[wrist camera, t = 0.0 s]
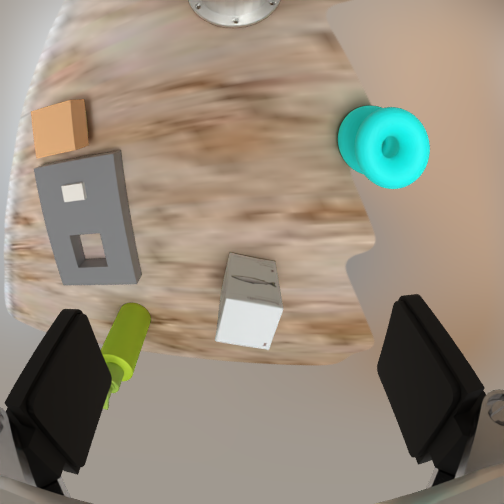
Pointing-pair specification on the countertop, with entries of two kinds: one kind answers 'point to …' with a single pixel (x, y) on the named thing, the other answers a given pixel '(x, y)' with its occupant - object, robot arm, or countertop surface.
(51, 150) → the plug
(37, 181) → the socket
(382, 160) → the donuts
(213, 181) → the countertop surface
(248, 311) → the supplement box
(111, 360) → the soap dispenser
